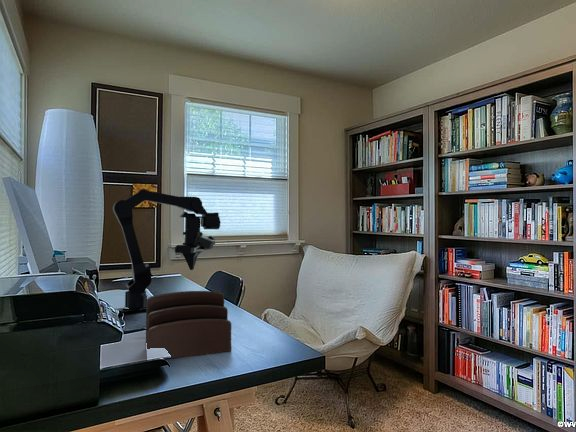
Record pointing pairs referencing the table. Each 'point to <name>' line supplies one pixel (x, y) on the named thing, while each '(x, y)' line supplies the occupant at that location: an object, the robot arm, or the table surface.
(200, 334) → the letter holder
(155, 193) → the robot arm
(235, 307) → the table surface
